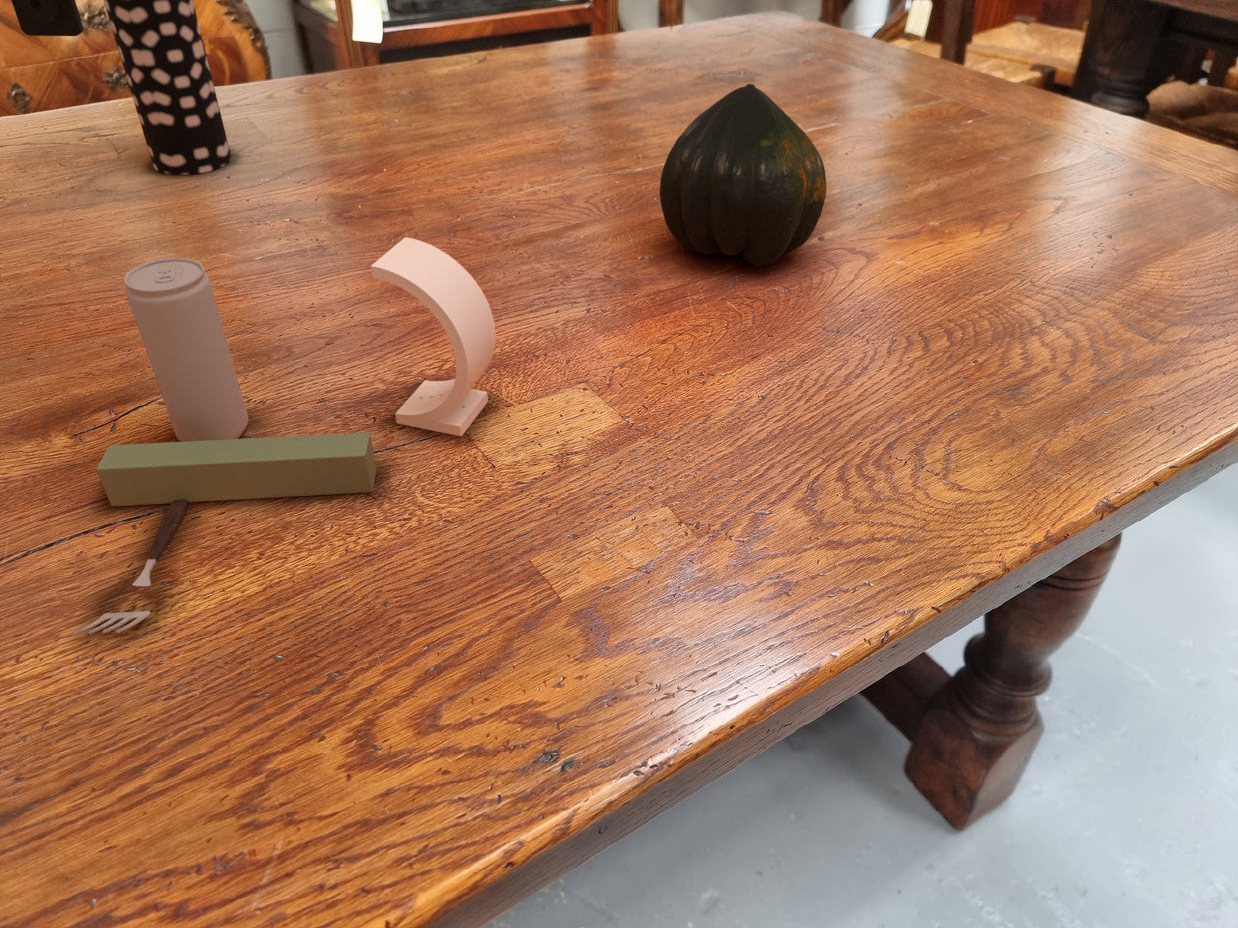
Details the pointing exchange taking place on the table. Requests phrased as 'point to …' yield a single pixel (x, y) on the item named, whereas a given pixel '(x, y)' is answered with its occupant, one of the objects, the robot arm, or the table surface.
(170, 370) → the beverage can
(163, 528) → the fork
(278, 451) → the rail
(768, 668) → the table surface
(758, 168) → the squash
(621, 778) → the table surface
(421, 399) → the headphone stand
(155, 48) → the spotted tube
